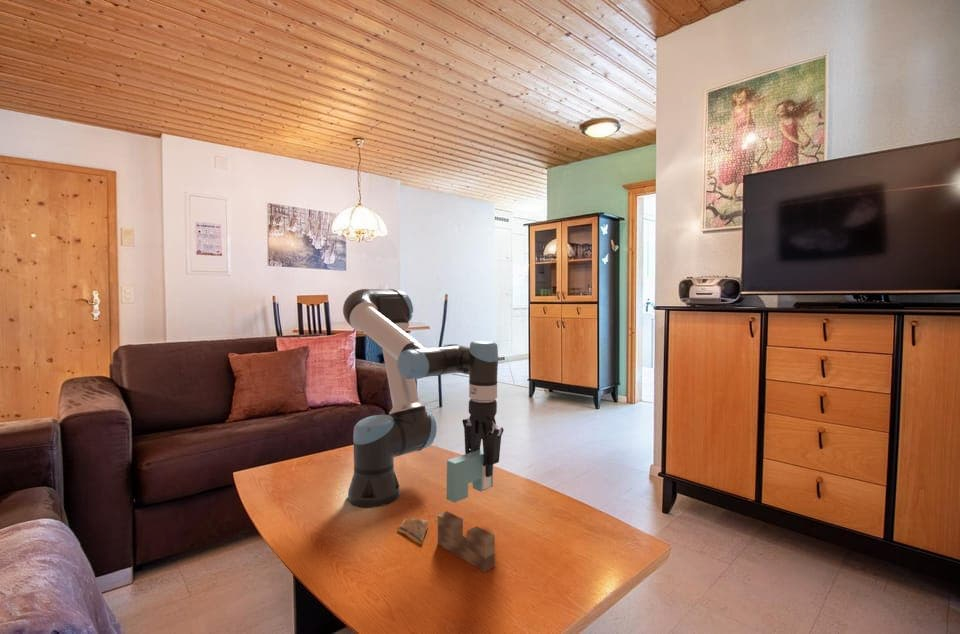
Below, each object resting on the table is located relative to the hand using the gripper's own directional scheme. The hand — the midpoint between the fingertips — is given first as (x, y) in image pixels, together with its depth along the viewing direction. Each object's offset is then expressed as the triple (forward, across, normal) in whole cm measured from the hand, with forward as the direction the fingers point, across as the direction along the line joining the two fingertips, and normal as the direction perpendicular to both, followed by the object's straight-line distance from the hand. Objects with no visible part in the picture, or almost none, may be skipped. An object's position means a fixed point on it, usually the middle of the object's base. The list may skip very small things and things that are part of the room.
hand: (481, 485), depth 121 cm
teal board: (+1, 0, -4) cm, 4 cm away
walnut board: (+9, +10, -15) cm, 20 cm away
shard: (+10, -6, -16) cm, 20 cm away
